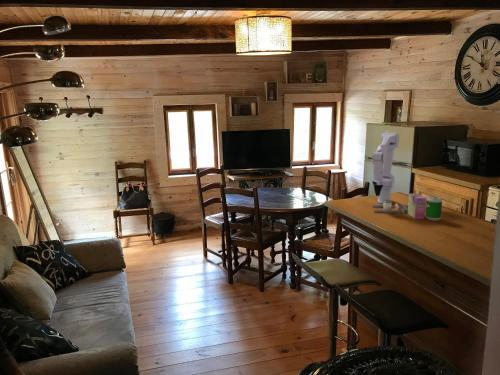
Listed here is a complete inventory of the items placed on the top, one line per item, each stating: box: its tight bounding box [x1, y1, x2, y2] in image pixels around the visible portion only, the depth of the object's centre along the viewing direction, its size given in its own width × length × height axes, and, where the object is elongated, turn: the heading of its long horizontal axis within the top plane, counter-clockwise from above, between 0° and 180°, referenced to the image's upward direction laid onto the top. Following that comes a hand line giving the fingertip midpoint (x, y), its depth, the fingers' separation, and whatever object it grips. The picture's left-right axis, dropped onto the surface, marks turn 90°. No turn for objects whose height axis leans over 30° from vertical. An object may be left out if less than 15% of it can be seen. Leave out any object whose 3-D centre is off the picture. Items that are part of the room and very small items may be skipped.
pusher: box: [394, 203, 400, 211], centre depth 242 cm, size 10×1×2 cm, turn 167°
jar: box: [382, 200, 393, 211], centre depth 243 cm, size 5×5×6 cm
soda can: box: [425, 196, 443, 222], centre depth 222 cm, size 8×8×12 cm
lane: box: [372, 204, 409, 215], centre depth 243 cm, size 13×18×2 cm
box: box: [407, 193, 427, 220], centre depth 228 cm, size 10×6×12 cm, turn 179°
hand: (377, 194), depth 247 cm, fingers open, 7 cm apart
